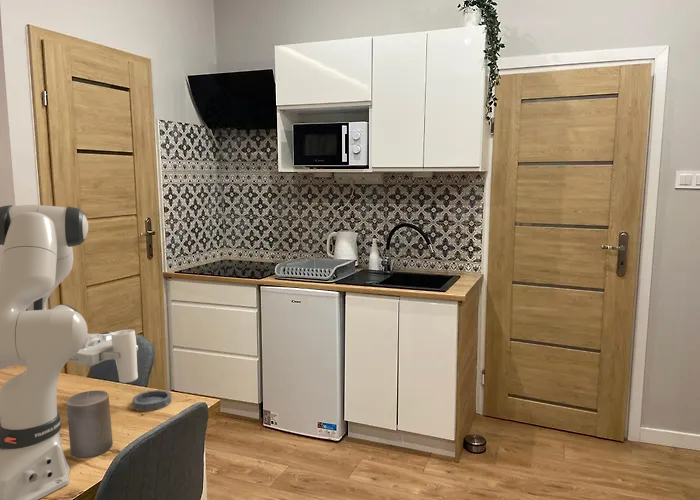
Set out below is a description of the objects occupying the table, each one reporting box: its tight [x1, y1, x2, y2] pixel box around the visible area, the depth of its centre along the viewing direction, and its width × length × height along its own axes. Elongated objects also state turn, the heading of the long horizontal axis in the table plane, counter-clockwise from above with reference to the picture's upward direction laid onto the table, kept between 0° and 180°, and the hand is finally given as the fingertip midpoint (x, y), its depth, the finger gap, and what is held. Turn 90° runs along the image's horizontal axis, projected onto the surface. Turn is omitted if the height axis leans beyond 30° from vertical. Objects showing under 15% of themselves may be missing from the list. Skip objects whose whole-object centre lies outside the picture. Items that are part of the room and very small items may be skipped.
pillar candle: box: [65, 390, 114, 459], centre depth 135 cm, size 10×10×15 cm
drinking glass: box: [111, 329, 139, 384], centre depth 161 cm, size 7×7×15 cm
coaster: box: [131, 389, 172, 412], centre depth 164 cm, size 11×11×2 cm
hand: (127, 352), depth 161 cm, fingers closed on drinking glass, 6 cm apart
